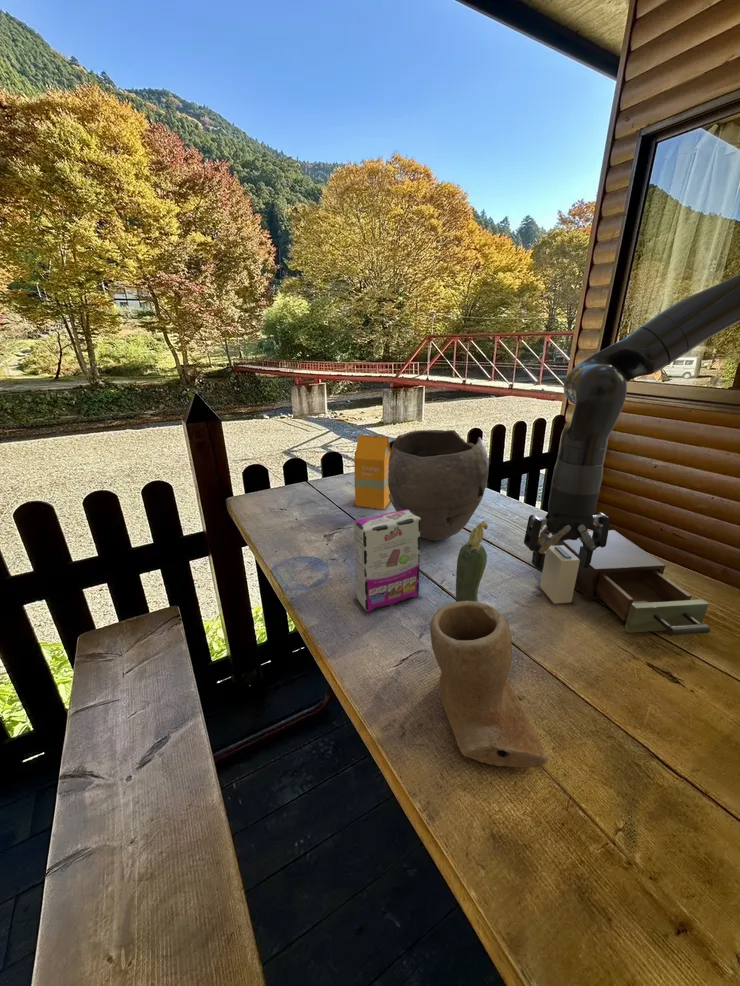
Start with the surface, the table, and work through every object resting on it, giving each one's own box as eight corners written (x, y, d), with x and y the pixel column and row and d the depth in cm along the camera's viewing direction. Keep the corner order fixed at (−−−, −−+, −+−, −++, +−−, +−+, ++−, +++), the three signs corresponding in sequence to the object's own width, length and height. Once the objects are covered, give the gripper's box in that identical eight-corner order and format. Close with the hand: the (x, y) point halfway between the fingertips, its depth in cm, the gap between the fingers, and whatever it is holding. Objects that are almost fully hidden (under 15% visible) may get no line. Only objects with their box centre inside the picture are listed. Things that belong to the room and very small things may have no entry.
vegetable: (451, 635, 67) (460, 525, 60) (452, 619, 71) (461, 514, 64) (478, 639, 66) (491, 528, 59) (478, 622, 70) (490, 516, 63)
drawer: (723, 645, 63) (733, 620, 62) (648, 651, 62) (655, 625, 61) (642, 582, 80) (648, 560, 78) (582, 585, 79) (586, 563, 77)
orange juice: (384, 509, 116) (384, 440, 109) (354, 505, 119) (353, 438, 112) (391, 499, 123) (392, 434, 116) (363, 496, 126) (362, 432, 118)
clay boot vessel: (418, 676, 59) (422, 588, 54) (498, 671, 60) (510, 584, 55) (444, 782, 45) (453, 678, 40) (548, 774, 46) (571, 670, 41)
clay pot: (490, 526, 105) (501, 430, 96) (466, 571, 85) (476, 456, 76) (404, 510, 116) (407, 422, 107) (365, 546, 96) (363, 442, 87)
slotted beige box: (556, 585, 80) (563, 543, 77) (571, 602, 75) (580, 558, 72) (539, 586, 80) (546, 544, 77) (553, 603, 75) (562, 559, 72)
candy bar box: (405, 583, 81) (408, 507, 76) (419, 597, 77) (422, 517, 71) (354, 598, 77) (352, 519, 71) (365, 613, 73) (364, 530, 67)
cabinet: (656, 595, 77) (665, 565, 75) (588, 599, 76) (595, 569, 74) (608, 556, 91) (614, 530, 88) (549, 559, 90) (553, 532, 87)
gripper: (546, 494, 66) (532, 580, 72) (629, 491, 67) (609, 576, 73) (525, 479, 73) (514, 559, 79) (601, 476, 74) (585, 555, 80)
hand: (560, 567), depth 76 cm, fingers open, 8 cm apart
